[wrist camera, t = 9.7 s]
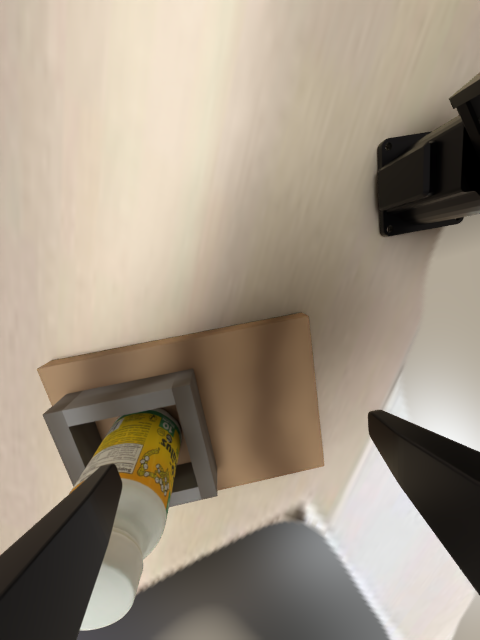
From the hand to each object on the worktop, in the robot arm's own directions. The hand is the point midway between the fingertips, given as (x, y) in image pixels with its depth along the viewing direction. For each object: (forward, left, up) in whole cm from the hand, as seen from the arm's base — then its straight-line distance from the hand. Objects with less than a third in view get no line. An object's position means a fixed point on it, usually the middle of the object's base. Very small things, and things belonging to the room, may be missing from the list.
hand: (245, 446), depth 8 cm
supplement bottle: (+8, +6, -10) cm, 14 cm away
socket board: (+4, +6, -11) cm, 13 cm away
